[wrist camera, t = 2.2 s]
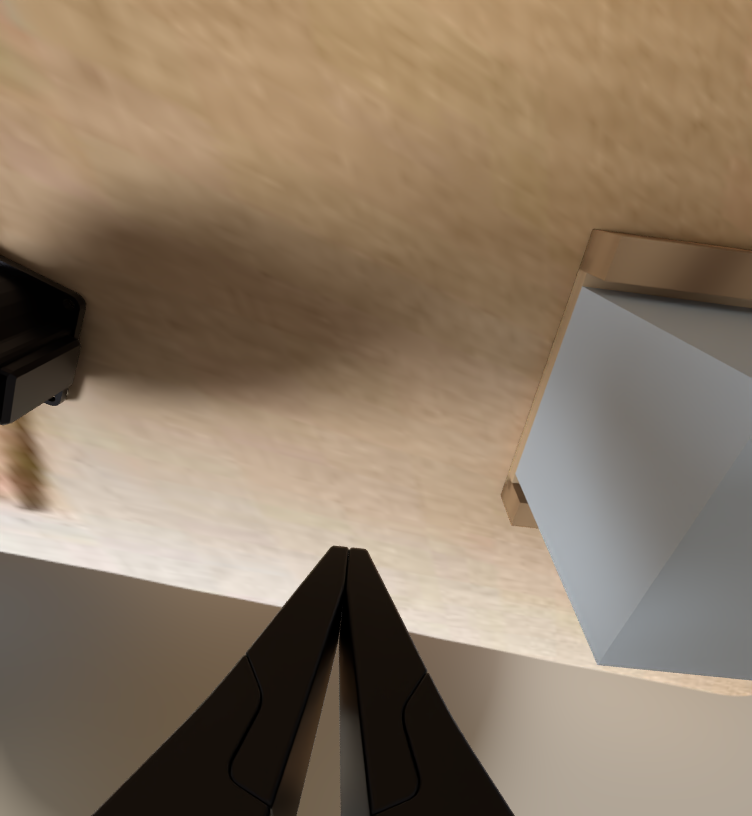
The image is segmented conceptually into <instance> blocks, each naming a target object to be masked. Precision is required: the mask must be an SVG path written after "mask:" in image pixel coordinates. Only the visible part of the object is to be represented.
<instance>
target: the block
mask: <svg viewBox="0 0 752 816" xmlns="http://www.w3.org/2000/svg"><path fill="white" fill-rule="evenodd" d="M515 474H516V476H517V479H518V481H519V483H520V486H521V488H522V490H523V493H524V495H525V497H526V500H527V502H528V504H529V507H530V509H531V511H532V514H533V516H534V518H535V521H536V523H537V525H538V528H539V530H540V532H541V535H542V537H543V539H544V542H545V544H546V546H547V549H548V551H549V553H550V555H551V558H552V560H553V562H554V565H555V567H556V569H557V572H558V574H559V576H560V579H561V581H562V583H563V586H564V588H565V590H566V593H567V595H568V597H569V600H570V602H571V604H572V607H573V609H574V611H575V614H576V616H577V618H578V621H579V623H580V625H581V628H582V630H583V632H584V635H585V637H586V639H587V642H588V644H589V646H590V649H591V651H592V653H593V656H594V658H595V660H596V662H597V665H603V666H613V667H623V668H633V669H643V670H653V671H663V672H673V673H683V674H693V675H703V676H713V677H723V678H733V679H743V680H752V308H746V307H739V306H731V305H723V304H715V303H708V302H700V301H692V300H684V299H677V298H669V297H661V296H653V295H646V294H638V293H630V292H622V291H615V290H607V289H599V288H591V287H584V286H582V288H581V291H580V294H579V296H578V299H577V302H576V305H575V308H574V310H573V313H572V316H571V319H570V322H569V324H568V327H567V330H566V333H565V336H564V338H563V341H562V344H561V347H560V350H559V352H558V355H557V358H556V361H555V364H554V366H553V369H552V372H551V375H550V378H549V380H548V383H547V386H546V389H545V392H544V394H543V397H542V400H541V403H540V406H539V408H538V411H537V414H536V417H535V420H534V422H533V425H532V428H531V431H530V434H529V436H528V439H527V442H526V445H525V448H524V450H523V453H522V456H521V459H520V462H519V464H518V467H517V470H516V473H515Z"/></svg>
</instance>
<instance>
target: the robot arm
mask: <svg viewBox="0 0 752 816" xmlns="http://www.w3.org/2000/svg"><path fill="white" fill-rule="evenodd" d="M69 300H71V301H72V302H73V304H74V307H73V306H71V305H70V303H69ZM85 308H86V304H85V301H84V299H83V298H82V297H81V296H80V295H79V294H77V293H76V292H74V291H72V290H70V289H68V288H66V287H64V286H62V285H60V284H58V283H56V282H54V281H52V280H50V279H48V278H45V277H43V276H41V275H39V274H37V273H35V272H33V271H31V270H29V269H27V268H25V267H23V266H21V265H19V264H17V263H15V262H13V261H11V260H9V259H7V258H5V257H3V256H1V255H0V425H6V424H10V423H12V422H14V421H15V420H17V419H19V418H20V417H22V416H23V415H25V414H26V413H28V412H30V411H31V410H33V409H34V408H36V407H37V406H39V405H41V404H42V403H46V404H48V405H51V406H57V405H59V404H60V403H62V402H63V401H65V399H66V395H67V391H68V387H69V386H70V385H72V383H73V380H74V375H75V371H76V366H77V362H78V357H79V353H80V348H81V344H80V341H79V336H80V331H81V326H82V322H83V317H84V313H85ZM53 396H55V397H53ZM348 554H349V556H348ZM341 615H342V616H341ZM340 624H341V625H340ZM339 632H340V636H339ZM338 639H339V705H340V706H339V710H340V793H341V794H340V796H341V816H515V815H514V814H513V812H512V811H511V809H510V808H509V806H508V804H507V803H506V801H505V800H504V798H503V797H502V795H501V794H500V792H499V790H498V789H497V787H496V786H495V784H494V783H493V781H492V780H491V778H490V777H489V775H488V773H487V772H486V770H485V769H484V767H483V766H482V764H481V762H480V761H479V759H478V758H477V756H476V755H475V754H474V752H473V750H472V748H471V747H470V745H469V744H468V742H467V740H466V739H465V737H464V735H463V734H462V732H461V730H460V729H459V727H458V726H457V724H456V722H455V721H454V719H453V717H452V715H451V714H450V712H449V710H448V708H447V706H446V704H445V702H444V701H443V699H442V697H441V695H440V693H439V691H438V689H437V687H436V685H435V683H434V681H433V679H432V677H431V675H430V674H429V673H427V668H426V667H425V665H424V663H423V661H422V659H421V656H420V654H419V653H418V651H417V649H416V646H415V645H414V642H413V640H412V639H411V637H410V635H409V633H408V631H407V629H406V627H405V625H404V623H403V621H402V619H401V617H400V615H399V613H398V611H397V609H396V607H395V605H394V603H393V601H392V599H391V597H390V595H389V593H388V591H387V589H386V587H385V585H384V583H383V581H382V579H381V577H380V575H379V573H378V571H377V569H376V567H375V565H374V563H373V561H372V559H371V557H370V555H369V553H368V551H367V550H366V549H361V548H350V550H349V549H348V548H347V547H342V546H332V547H331V548H330V549H329V550H328V551H327V552H326V554H325V555H324V556H323V557H322V559H321V560H320V561H319V562H318V564H317V565H316V566H315V567H314V569H313V570H312V571H311V572H310V574H309V575H308V576H307V577H306V579H305V580H304V581H303V582H302V583H301V585H300V586H299V587H298V588H297V590H296V591H295V592H294V593H293V595H292V596H291V597H290V598H289V600H288V601H287V602H286V603H285V605H284V606H283V607H282V608H281V610H280V611H279V612H278V613H277V615H276V616H275V617H274V618H273V619H272V621H271V622H270V623H269V624H268V626H267V627H266V628H265V629H264V631H263V632H262V633H261V634H260V636H259V637H258V638H257V639H256V641H255V642H254V643H253V644H252V646H251V647H250V648H249V649H248V651H247V652H246V655H244V656H242V657H241V658H240V660H239V661H238V662H237V663H236V665H235V666H234V667H233V668H232V670H231V671H230V672H229V673H228V674H227V676H226V677H225V678H224V679H223V680H222V682H221V683H220V684H219V685H218V686H217V687H216V688H215V690H214V691H213V692H212V693H211V694H210V695H209V696H208V698H207V699H206V700H205V701H204V702H203V703H202V704H201V705H200V706H199V707H198V708H197V709H196V710H195V711H194V712H193V713H192V714H191V715H190V717H189V718H188V719H187V720H186V721H185V722H184V723H183V724H182V725H181V726H180V727H179V728H178V729H177V730H176V731H175V732H174V733H173V734H172V735H171V736H170V737H169V738H168V739H167V740H166V741H165V742H164V743H163V744H162V745H161V746H160V747H159V748H158V749H157V750H156V751H155V752H154V753H153V754H152V755H151V756H150V757H149V758H148V759H147V760H146V761H145V762H144V763H143V764H142V765H141V766H140V767H139V768H138V769H137V770H136V771H135V772H134V773H133V774H132V775H131V776H130V777H129V778H128V779H127V780H126V781H125V782H124V783H123V784H122V785H121V786H120V787H119V788H118V789H117V790H116V791H115V792H114V793H113V794H112V795H111V796H110V797H109V798H108V799H107V800H106V801H105V802H104V803H103V805H101V806H100V807H99V808H98V810H96V811H95V812H94V813H93V814H92V815H91V816H297V811H298V807H299V803H300V799H301V794H302V790H303V787H304V782H305V778H306V774H307V769H308V766H309V762H310V757H311V753H312V749H313V745H314V741H315V737H316V733H317V728H318V724H319V720H320V716H321V712H322V707H323V703H324V699H325V695H326V691H327V687H328V683H329V678H330V674H331V670H332V666H333V662H334V658H335V654H336V649H337V644H338Z"/></svg>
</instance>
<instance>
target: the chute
mask: <svg viewBox="0 0 752 816" xmlns="http://www.w3.org/2000/svg"><path fill="white" fill-rule="evenodd" d="M582 286H584V287H591V288H599V289H607V290H615V291H622V292H630V293H638V294H646V295H653V296H661V297H669V298H677V299H684V300H692V301H700V302H708V303H715V304H723V305H731V306H739V307H746V308H752V250H745V249H737V248H730V247H722V246H715V245H707V244H700V243H692V242H685V241H677V240H670V239H662V238H655V237H647V236H640V235H633V234H625V233H618V232H610V231H603V230H595V229H593V231H592V234H591V236H590V239H589V242H588V245H587V248H586V251H585V254H584V257H583V259H582V262H581V265H580V268H579V271H578V274H577V277H576V280H575V283H574V285H573V288H572V291H571V294H570V297H569V300H568V303H567V306H566V309H565V311H564V314H563V317H562V320H561V323H560V326H559V329H558V332H557V334H556V337H555V340H554V343H553V346H552V349H551V352H550V355H549V358H548V360H547V363H546V366H545V369H544V372H543V375H542V378H541V381H540V384H539V386H538V389H537V392H536V395H535V398H534V401H533V404H532V407H531V410H530V412H529V415H528V418H527V421H526V424H525V427H524V430H523V433H522V435H521V438H520V441H519V444H518V447H517V450H516V453H515V456H514V459H513V461H512V464H511V467H510V470H509V473H508V476H507V479H506V482H505V485H504V487H503V490H502V493H501V497H502V500H503V503H504V506H505V509H506V512H507V514H508V517H509V520H510V523H511V526H520V527H529V528H538V525H537V523H536V521H535V518H534V516H533V514H532V511H531V509H530V507H529V504H528V502H527V500H526V497H525V495H524V493H523V490H522V488H521V486H520V483H519V481H518V479H517V476H516V474H515V473H516V470H517V467H518V464H519V462H520V459H521V456H522V453H523V450H524V448H525V445H526V442H527V439H528V436H529V434H530V431H531V428H532V425H533V422H534V420H535V417H536V414H537V411H538V408H539V406H540V403H541V400H542V397H543V394H544V392H545V389H546V386H547V383H548V380H549V378H550V375H551V372H552V369H553V366H554V364H555V361H556V358H557V355H558V352H559V350H560V347H561V344H562V341H563V338H564V336H565V333H566V330H567V327H568V324H569V322H570V319H571V316H572V313H573V310H574V308H575V305H576V302H577V299H578V296H579V294H580V291H581V288H582ZM538 529H539V528H538Z"/></svg>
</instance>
